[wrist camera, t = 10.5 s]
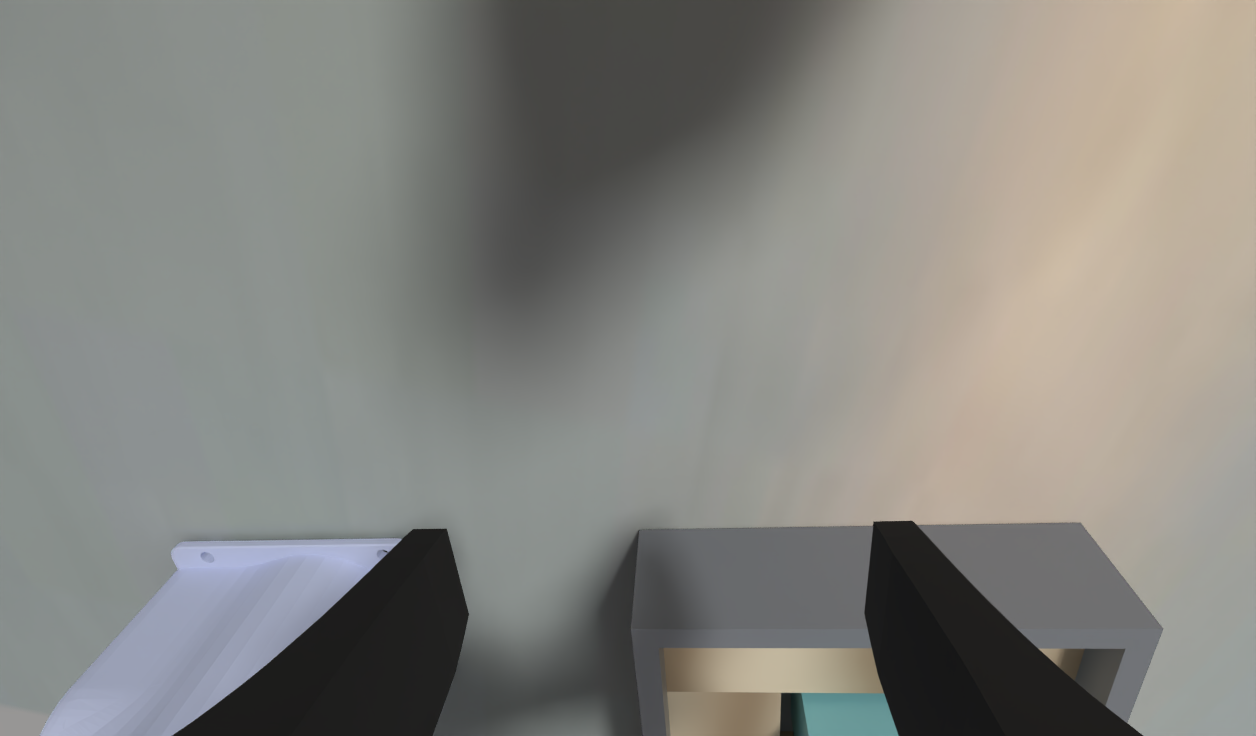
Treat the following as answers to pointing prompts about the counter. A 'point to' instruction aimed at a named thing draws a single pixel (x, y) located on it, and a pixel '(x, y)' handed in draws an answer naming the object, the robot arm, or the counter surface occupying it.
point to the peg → (841, 714)
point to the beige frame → (770, 684)
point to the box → (836, 593)
